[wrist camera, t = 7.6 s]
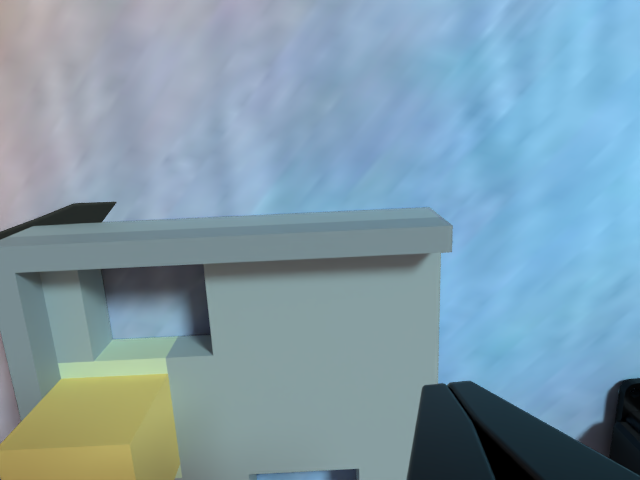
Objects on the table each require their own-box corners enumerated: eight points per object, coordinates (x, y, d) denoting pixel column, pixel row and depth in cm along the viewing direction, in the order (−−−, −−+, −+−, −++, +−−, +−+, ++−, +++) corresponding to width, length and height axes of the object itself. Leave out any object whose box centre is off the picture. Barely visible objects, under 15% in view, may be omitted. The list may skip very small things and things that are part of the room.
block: (167, 373, 20) (129, 444, 16) (180, 463, 22) (147, 552, 17) (61, 378, 20) (-7, 450, 16) (79, 468, 22) (21, 558, 17)
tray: (429, 207, 21) (452, 225, 17) (424, 526, 25) (442, 590, 22) (34, 225, 21) (-20, 247, 17) (98, 543, 25) (65, 611, 22)
